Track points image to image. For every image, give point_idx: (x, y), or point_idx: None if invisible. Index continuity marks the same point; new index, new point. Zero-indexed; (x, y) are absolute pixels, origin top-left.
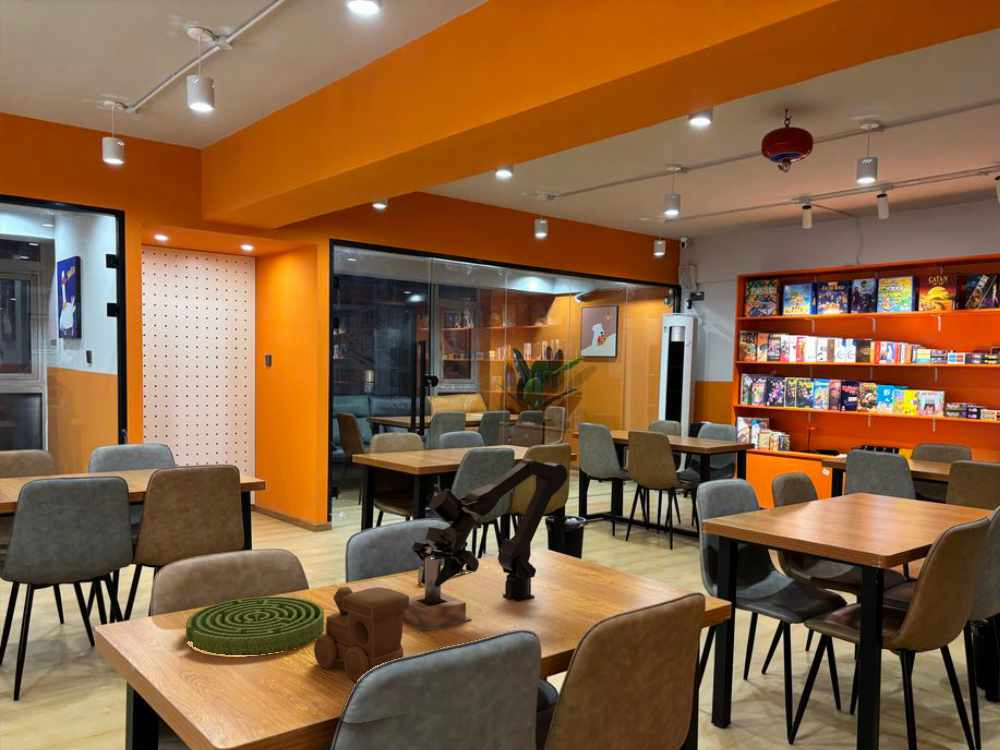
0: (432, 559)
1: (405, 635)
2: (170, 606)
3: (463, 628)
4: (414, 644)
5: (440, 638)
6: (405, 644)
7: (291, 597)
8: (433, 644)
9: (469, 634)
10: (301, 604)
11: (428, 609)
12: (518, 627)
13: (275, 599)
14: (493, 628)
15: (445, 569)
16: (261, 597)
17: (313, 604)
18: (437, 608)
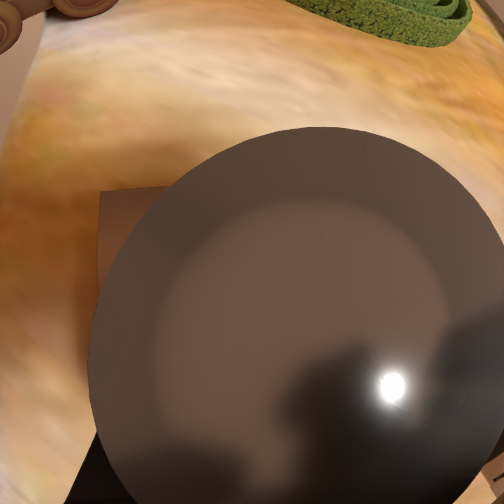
0: (203, 273)
1: (126, 134)
2: (486, 3)
3: (59, 360)
4: (47, 129)
5: (28, 224)
6: (66, 108)
7: (465, 23)
8: (10, 178)
9: (5, 334)
10: (418, 3)
11: (118, 223)
12: (10, 492)
13: (454, 4)
14: (21, 439)
15: (90, 452)
16: (467, 4)
17: (411, 10)
18: (104, 275)
